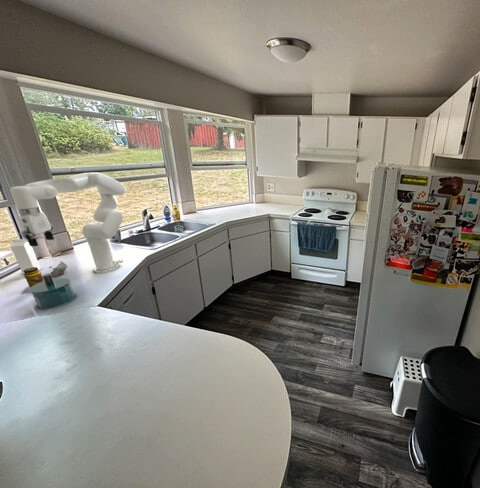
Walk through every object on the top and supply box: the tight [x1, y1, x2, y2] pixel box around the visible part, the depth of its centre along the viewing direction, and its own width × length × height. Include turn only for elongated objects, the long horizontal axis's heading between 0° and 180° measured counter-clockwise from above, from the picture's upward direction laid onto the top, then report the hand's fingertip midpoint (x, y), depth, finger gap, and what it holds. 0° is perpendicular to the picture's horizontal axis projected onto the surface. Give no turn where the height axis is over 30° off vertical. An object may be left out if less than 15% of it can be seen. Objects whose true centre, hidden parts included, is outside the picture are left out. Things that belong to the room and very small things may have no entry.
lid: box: [28, 273, 71, 294], centre depth 127 cm, size 15×15×7 cm
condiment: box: [22, 267, 44, 294], centre depth 140 cm, size 7×8×12 cm
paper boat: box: [48, 260, 68, 278], centre depth 158 cm, size 12×6×9 cm
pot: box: [31, 282, 76, 309], centre depth 129 cm, size 14×19×10 cm
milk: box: [10, 238, 41, 275], centre depth 157 cm, size 6×6×22 cm
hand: (42, 242), depth 132 cm, fingers open, 9 cm apart
